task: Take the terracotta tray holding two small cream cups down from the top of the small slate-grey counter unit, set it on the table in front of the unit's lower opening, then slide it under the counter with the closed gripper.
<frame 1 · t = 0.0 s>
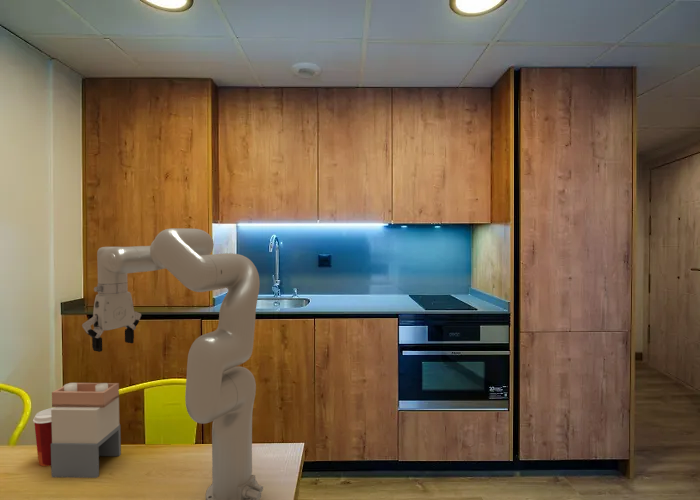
hand: (114, 346, 121), 31 cm above the table, tool pointing down, fingers open, 9 cm apart
paper cup: (50, 461, 117), on the table
tray: (86, 401, 114), point 18 cm above the table, touching counter unit
counter unit: (87, 465, 115), on the table
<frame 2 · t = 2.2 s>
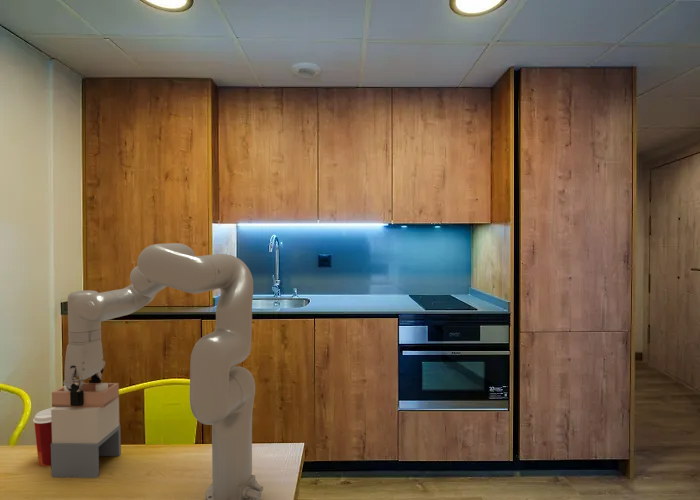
hand: (86, 399, 114), 19 cm above the table, tool pointing down, fingers closed on tray, 7 cm apart
tray: (86, 401, 114), point 18 cm above the table, touching counter unit, gripper
everything else where it was.
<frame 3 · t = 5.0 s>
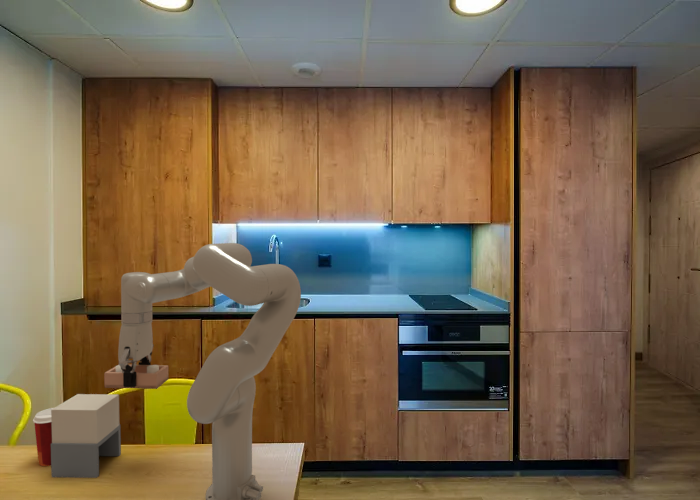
hand: (137, 380, 114), 24 cm above the table, tool pointing down, fingers closed on tray, 7 cm apart
tray: (137, 383, 114), point 23 cm above the table, touching gripper
everything else where it was.
when the fingers open (2 cm above the table, at t = 7.8 s): tray drops 1 cm, on the table.
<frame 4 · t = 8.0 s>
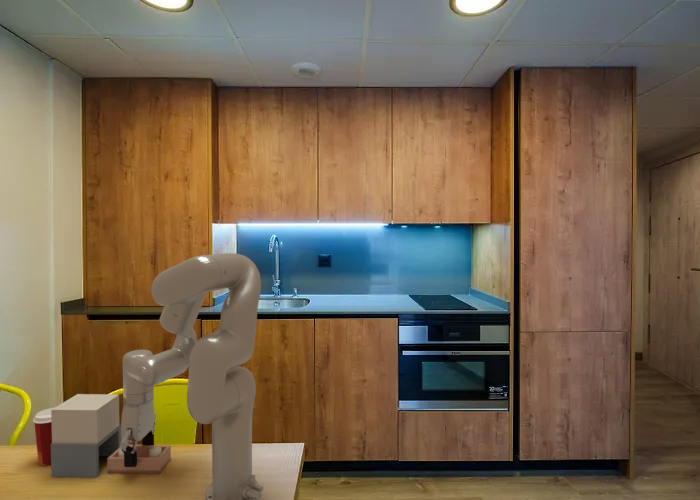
hand: (139, 456, 115), 3 cm above the table, tool pointing down, fingers open, 9 cm apart
tray: (140, 465, 115), on the table
everything else where it was.
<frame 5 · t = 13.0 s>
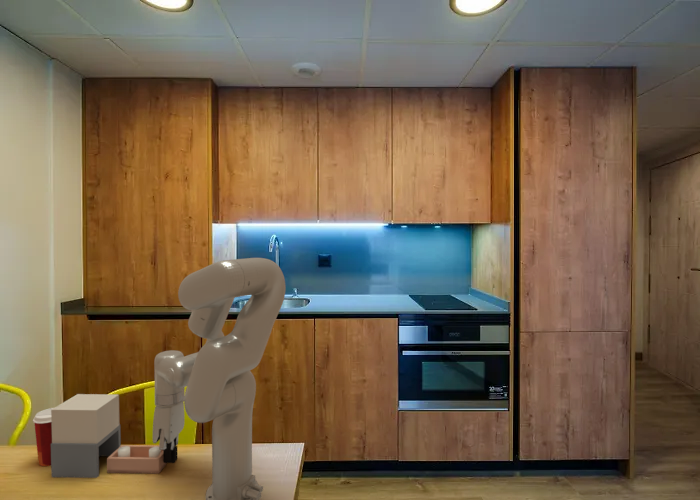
hand: (170, 461, 115), 1 cm above the table, tool pointing down, fingers closed
tray: (139, 465, 115), on the table, touching gripper
everything else where it was.
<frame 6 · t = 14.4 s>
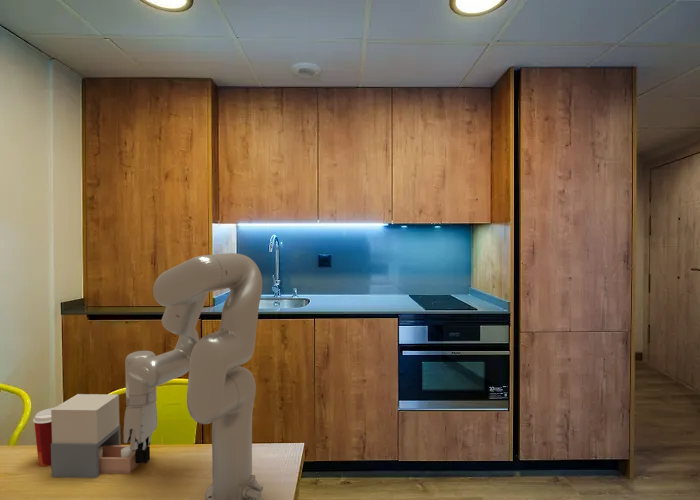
hand: (142, 461, 115), 1 cm above the table, tool pointing down, fingers closed
tray: (111, 465, 115), on the table, touching gripper
everything else where it was.
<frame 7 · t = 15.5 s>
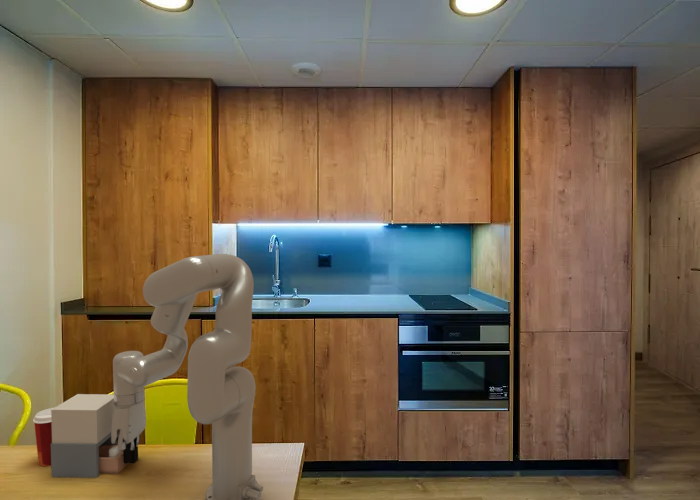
hand: (131, 461, 115), 1 cm above the table, tool pointing down, fingers closed
tray: (100, 465, 114), on the table, touching gripper
everything else where it was.
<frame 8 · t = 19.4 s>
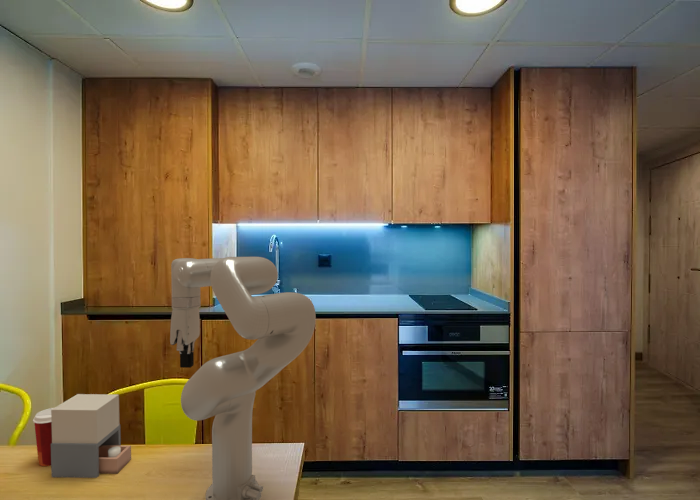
hand: (186, 366, 117), 27 cm above the table, tool pointing down, fingers closed
tray: (99, 465, 114), on the table
everything else where it was.
at the end: tray 0.3 cm from the target spot on the counter unit, point 0.0 cm above the counter unit's base; tray tilted 0°; the gripper is holding nothing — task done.
